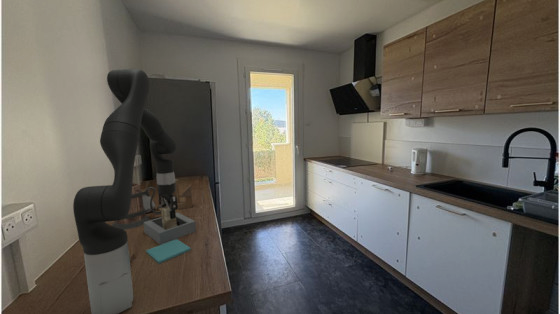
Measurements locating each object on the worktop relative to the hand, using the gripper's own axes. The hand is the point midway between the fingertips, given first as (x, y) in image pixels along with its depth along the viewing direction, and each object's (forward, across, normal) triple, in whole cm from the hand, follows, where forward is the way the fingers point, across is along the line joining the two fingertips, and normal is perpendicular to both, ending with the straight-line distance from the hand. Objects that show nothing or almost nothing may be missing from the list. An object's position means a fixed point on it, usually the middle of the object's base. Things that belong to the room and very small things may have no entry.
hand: (168, 216), depth 105 cm
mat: (+8, +17, -8) cm, 20 cm away
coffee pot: (+8, -44, +5) cm, 45 cm away
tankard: (+8, -26, -5) cm, 28 cm away
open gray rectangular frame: (+8, 0, 0) cm, 8 cm away
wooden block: (+8, -28, +20) cm, 35 cm away
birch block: (+6, 0, 0) cm, 6 cm away
